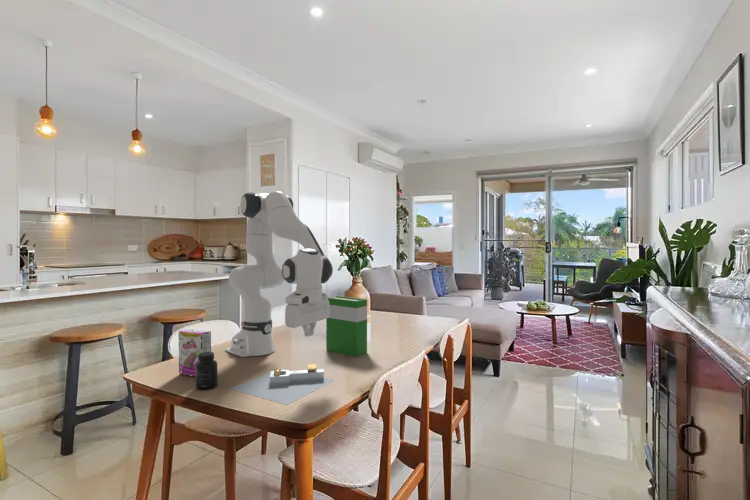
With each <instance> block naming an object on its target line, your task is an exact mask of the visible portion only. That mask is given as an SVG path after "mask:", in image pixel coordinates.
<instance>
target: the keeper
mask: <svg viewBox="0 0 750 500" xmlns="http://www.w3.org/2000/svg"><path fill="white" fill-rule="evenodd" d="M306 367H307V370H308V371H310V370H317V369H318V368H317V365H316V364H315V363H314V364H307V365H306Z"/></svg>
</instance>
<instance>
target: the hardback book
mask: <svg viewBox="0 0 750 500" xmlns="http://www.w3.org/2000/svg"><path fill="white" fill-rule="evenodd" d="M328 300H329V305H330V316H329V318H327V319H325V321H326V323H325V325H326V328H325V330H326V331H325V333H326V341H325V342H326V351H328V352H332V353H336V354H340V355H341V354H342V355H345V356H349V357H354V358H358V357H360V356H363V355H366V354H367V353H368V299H367V298H360V297H350V296H342V295H341V296H340V295H336V296H335V297H328Z"/></svg>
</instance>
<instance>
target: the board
mask: <svg viewBox="0 0 750 500" xmlns="http://www.w3.org/2000/svg"><path fill="white" fill-rule="evenodd" d="M280 369H281V370H288V369H287V368H282V367H281V368H280ZM289 370H290V371H293V370H291V369H289ZM270 374H271V372H268V373H267V374H264V375H262V376H259V377H257V378H254V379H251V380H249V381H247V382H244V383H242V384H239V385H237V386H234V387H231V388H230V390H231V391H234V392H235V391H236V392H239V393H243V394H247V395H250V396H254V397H258V398H261V399H264V400H267V401H272V402H275V403H278V404H282V405H285V406H288V405H290V404H292V403H294V402H296V401H298V400H300V399H302V398H303V397H305V396H307V395H309V394H311V393H313V392H315V391H317V390H319V389H320V388H322V387H324V386H326V385H328V384H330V383H332V382H333V381H335V379H332V378H327V377H324V380H320V381H306V382H293V383H289V385H276V386H270Z"/></svg>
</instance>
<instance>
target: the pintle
mask: <svg viewBox="0 0 750 500" xmlns="http://www.w3.org/2000/svg"><path fill="white" fill-rule="evenodd" d="M273 371H274V376H276V375H281V368H275V369H274V370H273Z"/></svg>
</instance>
